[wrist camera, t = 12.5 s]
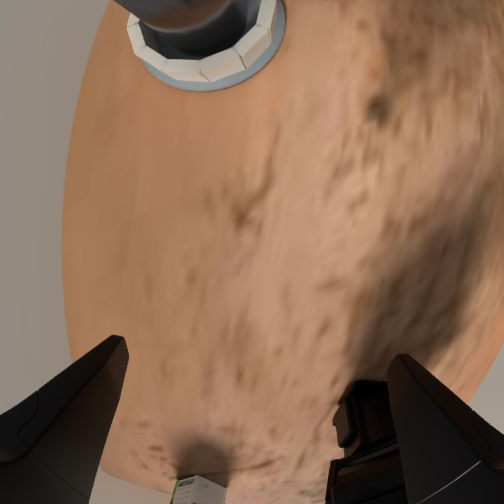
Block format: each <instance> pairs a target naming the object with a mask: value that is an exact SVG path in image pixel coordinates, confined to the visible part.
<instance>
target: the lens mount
mask: <svg viewBox="0 0 504 504" xmlns="http://www.w3.org/2000/svg"><path fill="white" fill-rule="evenodd" d="M242 3H243V6H244V10H245V13H246V18H247V23H246V28H245V31H244V33H243V35H242V36H241V38H240V39H239V40H238V42H237V43H235V44H234V45H233V46H232V47H231V48H229V49H227V50H224V51H222V52H219V53H217V54H214V55H212V56H209V57H193V56H189V55H186V54H183V53H181V52H180V51H179V50H177V49H176V48H175V47H174V46H172V45H171V44H170V43H169V42H168V41H166V40H165V39H164V38H163V37H162V36H160V35H159V34H158V33H157V32H155V31H154V30H153V29H151V28H150V27H149V26H148V25H146V24H145V23H144V22H142V21H141V20H140V19H139V18H137V17H136V16H135V15H133V14H132V13H131V14H130V17H129V20H128V23H127V26H128V27H127V31H128V34H129V37H130V40H131V43H132V47H133V50H134V53H135V54H136V55H137V56H138V57H140V58H141V59H142V61H143V63H144V65H145V66H146V68H147V69H148V70H149V71H150V72H151V73H152V74H153V75H154V76H155V77H157V78H158V79H159V80H161V81H163V82H165V83H166V84H168V85H171V86H173V87H175V88H178V89H182V90H186V91H192V92H211V91H218V90H223V89H227V88H230V87H233V86H236V85H238V84H240V83H243V82H245V81H246V80H248V79H250V78H252V77H253V76H254V75H256V74H257V73H259V72H260V71H261V70H262V69H263V68H264V67H266V66H267V65H268V63H269V62H270V61H271V60H272V59H273V58H274V56H275V54H276V53H277V51H278V50H279V48H280V45H281V43H282V40H283V37H284V31H285V13H284V9H283V6H282V3H281V1H280V0H242Z"/></svg>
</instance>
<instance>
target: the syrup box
mask: <svg viewBox="0 0 504 504" xmlns="http://www.w3.org/2000/svg"><path fill="white" fill-rule="evenodd" d="M226 492H227V489H226V488H225V487H223V486H221V485H219V484H217V483H214V482H212V481H210V480H208V479H206V478H203V477H201V476H199V475H195V476H193V477H190V478H186V479H183V480H179V481H176V484H175V488H174V491H173V495H172V498H171V502H170V504H225V498H226Z"/></svg>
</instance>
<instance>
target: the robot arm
mask: <svg viewBox="0 0 504 504" xmlns="http://www.w3.org/2000/svg"><path fill="white" fill-rule="evenodd" d="M128 361H129V353H128V349H127V345H126V341H125V338H124V337H122V336H118V335H111V336H109V337H108V338H107V339H105V340H104V341H103V342H101V343H100V344H99V345H97V346H96V347H94V348H93V349H92V350H90V351H89V352H88V353H86V354H85V355H84V356H82V357H81V358H80V359H78V360H77V361H75V362H74V363H73V364H71V365H70V366H69V367H67V368H66V369H65V370H63V371H62V372H61V373H60V374H58V375H57V376H55V377H54V378H53V379H52V380H50V381H49V382H47V383H46V384H45V385H44V386H42V387H41V388H39V390H38V391H35V392H34V393H33V394H31V395H30V396H29V397H27V398H26V399H25V400H23V401H22V402H20V403H19V404H17V405H16V406H14V407H13V408H11V409H9V410H8V411H6V412H5V413H3V414H1V415H0V504H89V499H90V496H91V492H92V488H93V484H94V481H95V477H96V473H97V470H98V466H99V463H100V459H101V456H102V453H103V449H104V446H105V443H106V440H107V436H108V433H109V430H110V427H111V424H112V421H113V418H114V415H115V412H116V409H117V406H118V403H119V400H120V396H121V391H122V387H123V382H124V378H125V373H126V369H127V365H128ZM387 381H388V382H376V381H363V380H358V381H356V382H355V383H354V384H353V386H352V388H351V390H350V392H349V393H348V395H347V397H346V398H345V399H344V400H343V401H342V403H341V405H340V407H339V408H338V410H337V412H336V413H335V418H334V419H333V421H332V422H333V426H336V431H337V439H338V446H339V447H340V448H344V456H345V457H344V458H341V459H335V460H332V461H331V463H330V468H329V475H328V483H327V490H326V497H325V501H326V503H325V504H504V435H503V434H502V433H501V432H499V431H498V430H496V429H495V428H494V427H493V426H491V425H490V424H489V423H488V422H486V421H485V420H484V419H483V418H482V417H480V416H479V415H478V414H477V413H476V412H475V411H474V410H473V411H472V409H471V408H470V407H469V406H468V405H467V404H466V403H465V402H463V401H462V400H461V399H460V398H459V397H458V396H457V395H455V394H454V393H453V392H452V391H451V390H450V389H448V388H447V387H446V386H445V385H444V384H443V383H442V382H440V381H439V380H438V379H437V378H436V377H435V376H433V375H432V374H431V373H430V372H429V371H428V370H426V369H425V368H424V367H423V366H422V365H420V364H419V363H418V362H417V361H416V360H415V359H413V358H412V357H411V356H410V355H409V354H407V353H401V354H396V355H395V357H394V358H393V360H392V362H391V364H390V366H389V368H388V370H387ZM359 385H360V386H359Z"/></svg>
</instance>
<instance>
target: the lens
mask: <svg viewBox="0 0 504 504" xmlns="http://www.w3.org/2000/svg"><path fill="white" fill-rule="evenodd" d="M114 1H115V2H117V3H118V4H119V5H121V6H122V7H124V8H125V9H126V10H128V11H129V12H130V13H132V14H133V15H135V16H136V17H137V18H139V19H140V20H141V21H142V22H144V23H145V24H146V25H148V26H149V27H150V28H151V29H153V30H154V31H155V32H157V33H158V34H159V35H160V36H162V37H163V38H164V39H165V40H166V41H168V42H169V43H170V44H171V45H172V46H174V47H175V48H176V49H177V50H179V51H180V52H181V53H183V54H186V55H189V56H193V57H209V56H212V55H214V54H217V53H219V52H222V51H224V50H227V49H229V48H231V47H232V46H233V45H234V44H235V43H237V42H238V40H239V39H240V38H241V36H242V35H243V33H244V31H245V28H246V23H247V18H246V13H245V10H244V6H243V3H242V0H114Z"/></svg>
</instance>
